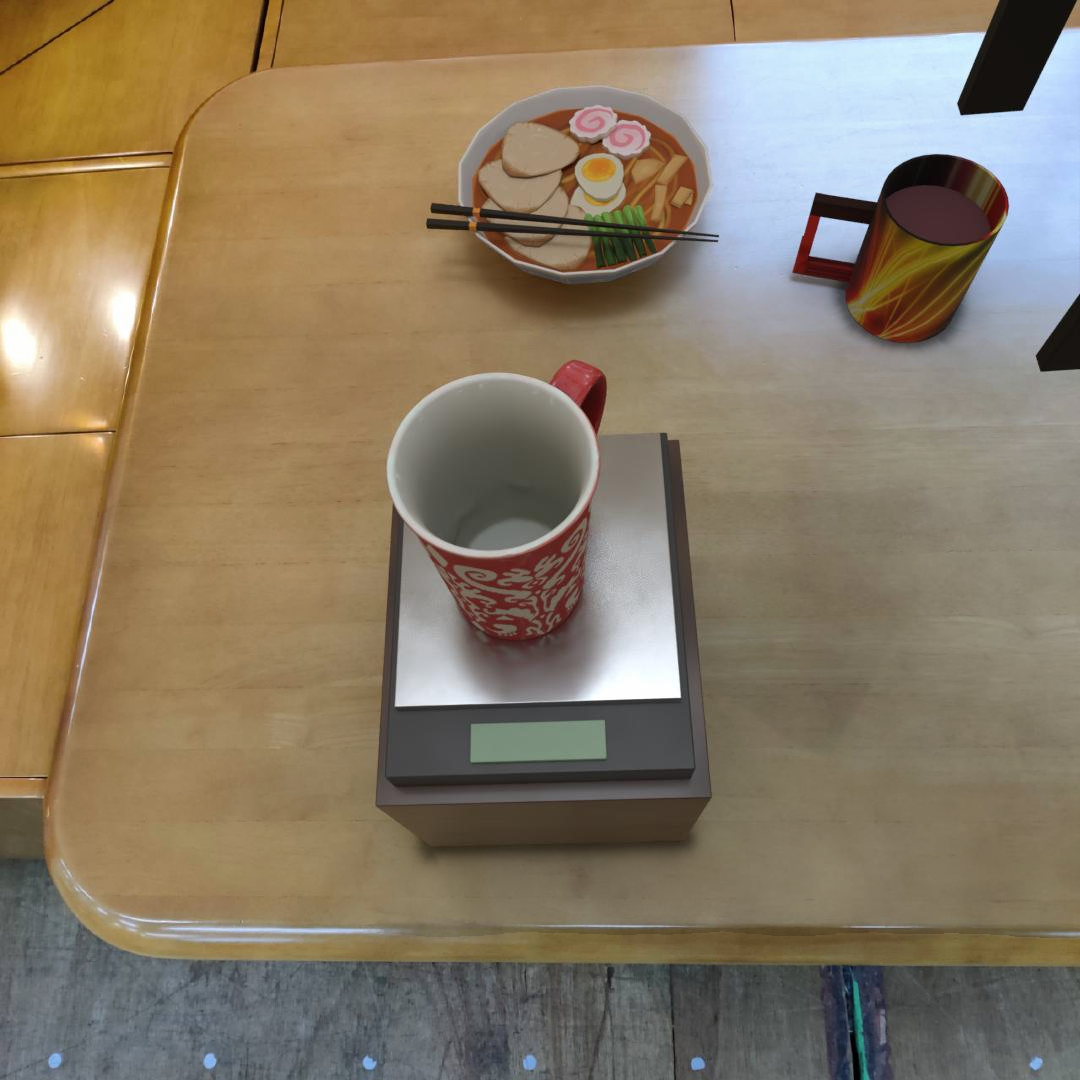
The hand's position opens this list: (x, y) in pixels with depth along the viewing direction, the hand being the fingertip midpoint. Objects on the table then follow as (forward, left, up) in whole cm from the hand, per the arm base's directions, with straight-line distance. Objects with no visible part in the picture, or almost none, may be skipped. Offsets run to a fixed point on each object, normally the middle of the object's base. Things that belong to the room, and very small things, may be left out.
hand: (1028, 225), depth 38 cm
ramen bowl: (+36, +18, -38) cm, 56 cm away
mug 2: (+26, -8, -38) cm, 47 cm away
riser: (-9, +22, -38) cm, 45 cm away
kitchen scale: (-9, +22, -20) cm, 31 cm away
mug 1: (-7, +22, -17) cm, 28 cm away
